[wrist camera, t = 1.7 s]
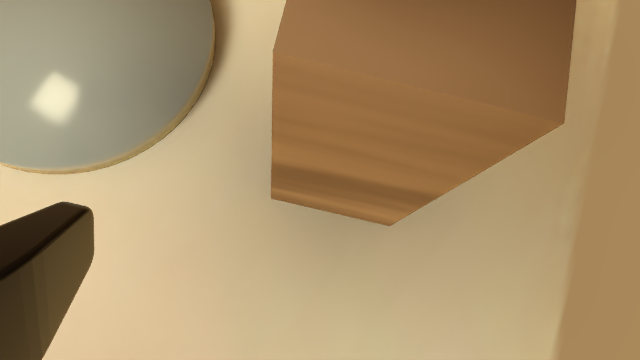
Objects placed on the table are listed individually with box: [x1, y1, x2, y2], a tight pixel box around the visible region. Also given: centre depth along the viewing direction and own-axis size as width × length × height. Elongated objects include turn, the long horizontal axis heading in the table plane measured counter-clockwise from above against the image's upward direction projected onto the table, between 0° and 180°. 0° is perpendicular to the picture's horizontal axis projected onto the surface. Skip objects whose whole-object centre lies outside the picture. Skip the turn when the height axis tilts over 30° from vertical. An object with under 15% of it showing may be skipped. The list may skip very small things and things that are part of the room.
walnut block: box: [271, 0, 576, 226], centre depth 15 cm, size 5×5×12 cm
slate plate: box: [0, 0, 215, 174], centre depth 20 cm, size 12×12×1 cm
